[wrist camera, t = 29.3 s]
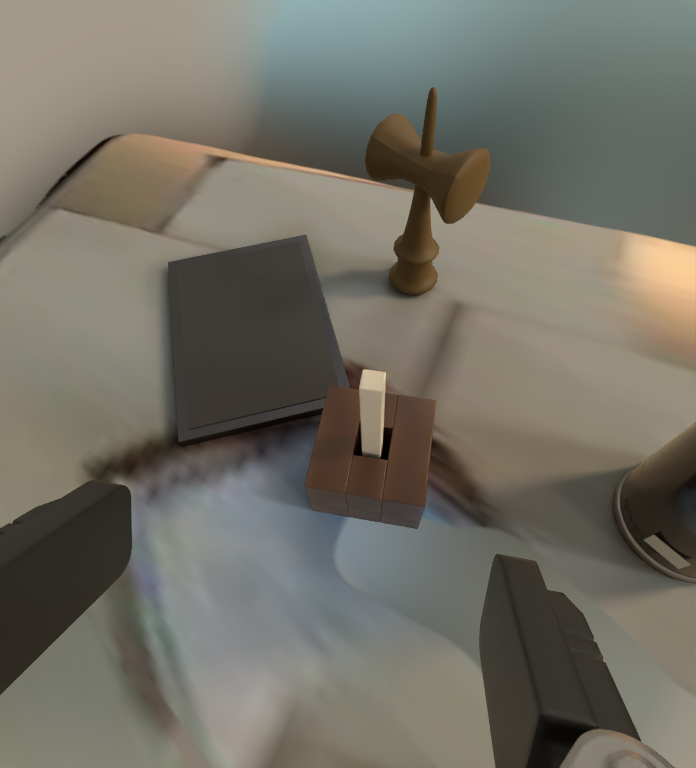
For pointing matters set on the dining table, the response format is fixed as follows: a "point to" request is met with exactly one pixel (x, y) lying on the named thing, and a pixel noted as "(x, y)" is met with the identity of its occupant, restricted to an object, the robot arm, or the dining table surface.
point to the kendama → (424, 189)
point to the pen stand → (372, 460)
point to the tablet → (250, 340)
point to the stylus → (372, 412)
